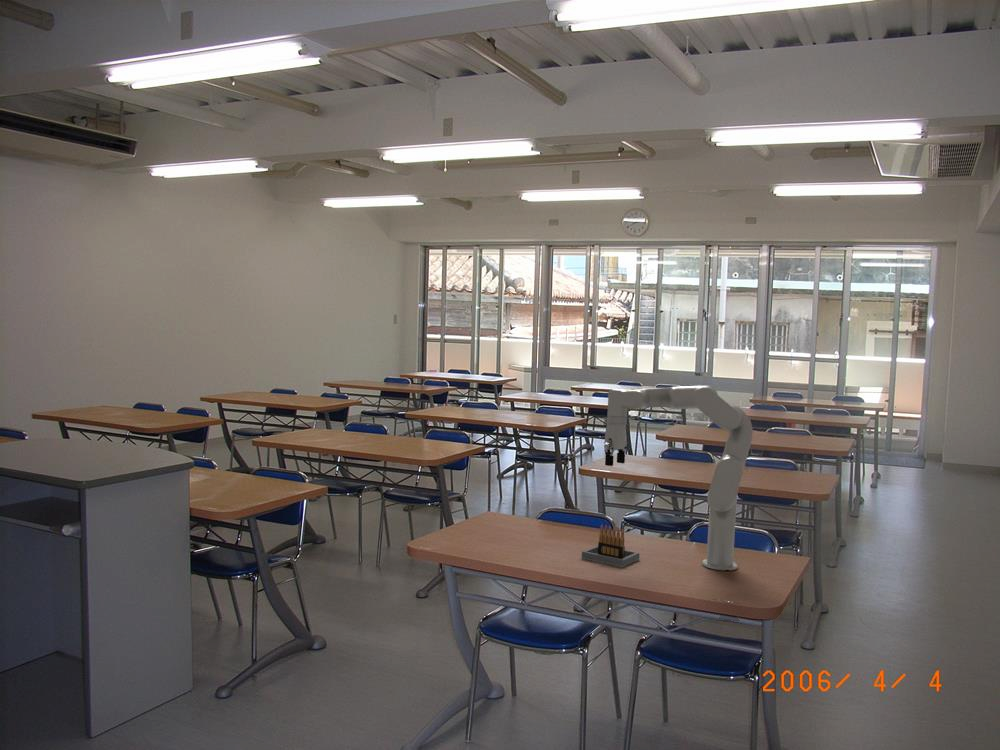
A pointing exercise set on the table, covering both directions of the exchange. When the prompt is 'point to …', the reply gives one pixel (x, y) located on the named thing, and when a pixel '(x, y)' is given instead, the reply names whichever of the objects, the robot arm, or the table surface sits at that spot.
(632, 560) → the holder tray
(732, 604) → the table surface
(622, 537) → the ammunition clip
